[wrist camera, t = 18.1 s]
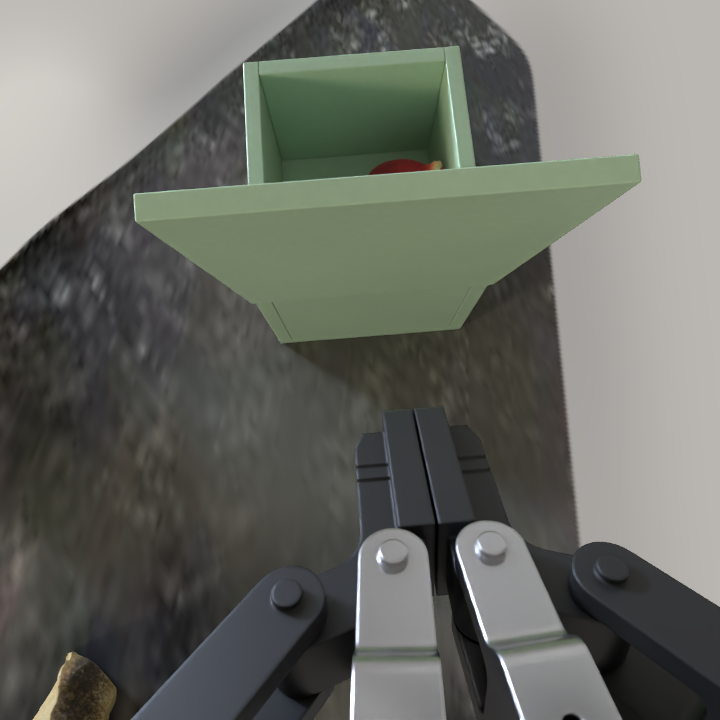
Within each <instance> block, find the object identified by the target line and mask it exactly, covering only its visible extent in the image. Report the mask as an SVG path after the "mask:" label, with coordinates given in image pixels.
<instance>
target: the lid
mask: <svg viewBox="0 0 720 720" xmlns="http://www.w3.org/2000/svg"><path fill="white" fill-rule="evenodd" d="M640 182H641V173H640V162H639V155H638V154H634V155H622V156H609V157H596V158H583V159H571V160H558V161H545V162H532V163H519V164H507V165H494V166H481V167H468V168H456V169H443V170H430V171H417V172H405V173H392V174H379V175H367V176H354V177H341V178H328V179H316V180H303V181H290V182H277V183H265V184H252V185H239V186H226V187H214V188H201V189H188V190H175V191H163V192H150V193H137V194H134V210H135V221H136V222H137V223H138V224H140V225H141V226H143V227H144V228H146V229H147V230H148V231H150V232H151V233H153V234H154V235H155V236H157V237H158V238H160V239H161V240H163V241H164V242H165V243H167V244H168V245H170V246H171V247H172V248H174V249H175V250H177V251H178V252H180V253H181V254H182V255H184V256H185V257H187V258H188V259H190V260H191V261H192V262H194V263H195V264H197V265H198V266H199V267H201V268H202V269H204V270H205V271H207V272H208V273H209V274H211V275H212V276H214V277H215V278H216V279H218V280H219V281H221V282H222V283H224V284H225V285H226V286H228V287H229V288H231V289H232V290H234V291H235V292H236V293H238V294H239V295H241V296H242V297H243V298H245V299H246V300H248V301H249V302H251V303H252V304H255V303H267V302H280V301H292V300H305V299H318V298H330V297H343V296H355V295H368V294H380V293H393V292H405V291H418V290H430V289H443V288H455V287H468V286H480V285H493V284H494V283H496V282H497V281H499V280H500V279H502V278H503V277H504V276H506V275H507V274H509V273H510V272H512V271H513V270H515V269H516V268H517V267H519V266H520V265H522V264H523V263H525V262H526V261H528V260H529V259H530V258H532V257H533V256H535V255H536V254H538V253H539V252H540V251H542V250H543V249H545V248H546V247H548V246H549V245H551V244H552V243H553V242H555V241H556V240H558V239H559V238H561V237H562V236H563V235H565V234H566V233H568V232H569V231H571V230H572V229H574V228H575V227H576V226H578V225H579V224H581V223H582V222H584V221H585V220H587V219H588V218H589V217H591V216H592V215H594V214H595V213H597V212H598V211H600V210H601V209H602V208H604V207H605V206H607V205H608V204H610V203H611V202H612V201H614V200H615V199H617V198H618V197H620V196H621V195H623V194H624V193H625V192H627V191H628V190H630V189H631V188H632V187H634V186H636V185H637V184H638V183H640Z"/></svg>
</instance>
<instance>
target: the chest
mask: <svg viewBox="0 0 720 720" xmlns="http://www.w3.org/2000/svg"><path fill="white" fill-rule="evenodd" d="M243 75H244V98H245V122H246V145H247V169H248V185H252V184H265V183H277V182H290V181H303V180H316V179H328V178H341V177H354V176H367V175H369V173H370V172H371V171H372V170H373V169H374V168H375V167H376V166H378V165H379V164H382V163H384V162H387V161H391V160H396V159H411V160H415V161H418V162H421V163H424V164H426V165H427V164H430V163H432V162H433V161H441V163H442V165H443V169H456V168H468V167H476V166H475V159H474V151H473V144H472V137H471V129H470V122H469V114H468V107H467V100H466V92H465V85H464V77H463V70H462V63H461V55H460V48H459V46H454V47H444V48H430V49H417V50H404V51H391V52H378V53H365V54H352V55H339V56H326V57H313V58H300V59H287V60H274V61H261V62H259V63H258V62H249V63H243ZM486 287H487V285H480V286H468V287H455V288H443V289H430V290H418V291H405V292H393V293H380V294H368V295H355V296H343V297H330V298H318V299H305V300H292V301H280V302H267V303H256V304H257V306H258V307H259V309H260V311H261V312H262V314H263V315H264V317H265V318H266V320H267V322H268V323H269V325H270V326H271V328H272V329H273V331H274V333H275V334H276V336H277V337H278V339H279V341H280V342H281V343H291V342H304V341H316V340H329V339H341V338H354V337H366V336H378V335H391V334H403V333H416V332H428V331H441V330H453V329H460V328H461V327H462V325H463V323H464V322H465V320H466V319H467V317H468V315H469V314H470V312H471V311H472V309H473V308H474V306H475V304H476V303H477V301H478V300H479V298H480V297H481V295H482V293H483V292H484V290H485V289H486Z"/></svg>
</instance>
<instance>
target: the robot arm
mask: <svg viewBox="0 0 720 720" xmlns="http://www.w3.org/2000/svg"><path fill="white" fill-rule="evenodd" d="M382 428H383V432H379V433H366V434H362V436H361V438H360V440H359V442H358V444H357V446H356V448H355V457H356V472H357V488H358V503H359V519H360V541H359V544H358V547H357V549H356V550H355V552H354V553H353V555H352V556H351V557H350V558H349V559H348V560H347V561H345V562H344V563H343V564H341V565H339V566H337V567H335V568H333V569H331V570H328V571H326V572H323V573H321V574H318V575H316V574H315V573H314V572H312V571H311V570H309V569H307V568H303V567H299V566H287V567H282V568H279V569H276V570H274V571H272V572H270V573H269V574H267V575H266V576H265V577H264V578H262V579H261V580H260V581H259V583H258V584H257V585H256V586H255V587H254V588H253V589H252V590H251V591H250V592H249V593H248V594H247V595H246V596H245V598H244V599H243V600H242V601H241V602H240V603H239V604H238V605H237V606H236V607H235V608H234V609H233V610H232V611H231V613H230V614H229V615H228V616H227V617H226V618H225V619H224V620H223V621H222V622H221V623H220V624H219V625H218V626H217V628H216V629H215V630H214V631H213V632H212V633H211V634H210V635H209V636H208V637H207V638H206V639H205V640H204V642H203V643H202V644H201V645H200V646H199V647H198V648H197V649H196V650H195V651H194V652H193V653H192V654H191V655H190V657H189V658H188V659H187V660H186V661H185V662H184V663H183V664H182V665H181V666H180V667H179V668H178V669H177V670H176V672H175V673H174V674H173V675H172V676H171V677H170V678H169V679H168V680H167V681H166V682H165V683H164V684H163V685H162V687H161V688H160V689H159V690H158V691H157V692H156V693H155V694H154V695H153V696H152V697H151V698H150V699H149V701H148V702H147V703H146V704H145V705H144V706H143V707H142V708H141V709H140V710H139V711H138V712H137V713H136V714H135V716H134V717H133V718H132V719H131V720H313V719H314V717H315V716H316V715H317V713H318V712H319V710H320V709H321V707H322V706H323V704H324V703H325V702H326V700H327V699H328V697H329V696H330V694H331V693H332V691H333V689H334V687H335V685H336V684H338V683H341V682H343V681H345V680H347V679H349V678H351V697H350V720H446V711H445V701H444V690H443V680H442V670H441V662H440V655H439V652H438V650H437V643H436V632H435V621H434V611H433V600H432V596H434V583H435V588H436V594H437V596H440V595H449V599H450V604H451V609H452V632H453V636H454V640H455V643H456V647H457V650H458V654H459V658H460V661H461V665H462V668H463V672H464V675H465V679H466V683H467V686H468V690H469V693H470V697H471V701H472V704H473V708H474V711H475V715H476V719H477V720H720V607H719V606H717V605H716V604H714V603H712V602H711V601H709V600H708V599H706V598H704V597H703V596H701V595H700V594H698V593H696V592H695V591H693V590H692V589H690V588H688V587H687V586H685V585H683V584H682V583H680V582H679V581H677V580H675V579H674V578H672V577H671V576H669V575H668V574H666V573H664V572H663V571H661V570H659V569H658V568H656V567H655V566H653V565H652V564H650V563H648V562H647V561H645V560H643V559H642V558H640V557H639V556H637V555H636V554H634V553H632V552H631V551H629V550H627V549H625V548H623V547H621V546H619V545H616V544H612V543H607V542H592V543H589V544H586V545H584V546H582V547H580V548H579V549H578V550H577V551H576V553H575V554H574V555H569V554H564V553H559V552H554V551H549V550H545V549H541V548H539V547H536V546H534V545H532V544H530V543H528V542H526V541H525V540H523V539H522V537H521V536H520V535H519V534H518V533H517V532H516V531H515V530H514V529H512V527H511V525H510V524H509V521H508V519H507V516H506V513H505V510H504V507H503V504H502V501H501V499H500V496H499V493H498V490H497V487H496V484H495V481H494V478H493V476H492V473H491V472H490V467H489V464H488V461H487V458H486V457H485V452H484V450H483V447H482V444H481V441H480V439H479V438H478V437H477V436H476V435H475V434H474V433H473V431H472V430H471V429H470V428H469V427H468V426H467V425H463V426H451V427H449V425H448V421H447V418H446V414H445V411H444V408H443V406H439V407H427V408H414V409H413V414H412V410H411V409H403V410H391V411H382Z"/></svg>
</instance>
